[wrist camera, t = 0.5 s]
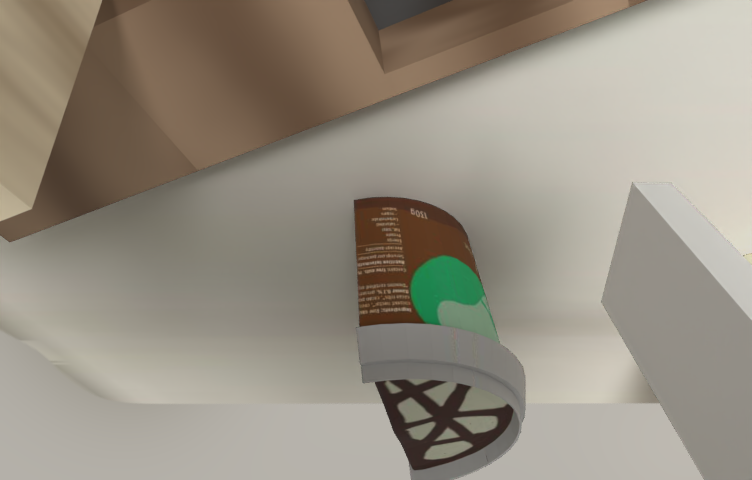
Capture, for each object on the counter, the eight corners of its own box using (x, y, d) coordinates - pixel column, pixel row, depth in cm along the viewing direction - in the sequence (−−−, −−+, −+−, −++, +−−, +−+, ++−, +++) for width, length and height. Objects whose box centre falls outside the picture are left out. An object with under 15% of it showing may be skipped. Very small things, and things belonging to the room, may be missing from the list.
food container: (499, 304, 40) (538, 474, 33) (395, 322, 40) (413, 492, 34) (481, 150, 30) (531, 346, 24) (346, 178, 31) (358, 375, 25)
